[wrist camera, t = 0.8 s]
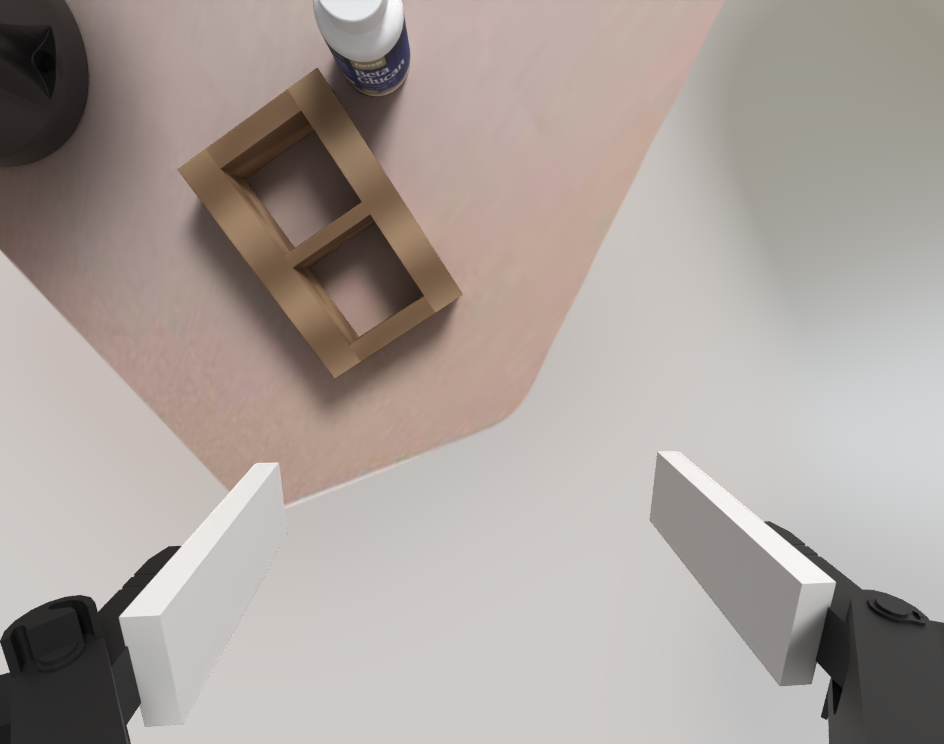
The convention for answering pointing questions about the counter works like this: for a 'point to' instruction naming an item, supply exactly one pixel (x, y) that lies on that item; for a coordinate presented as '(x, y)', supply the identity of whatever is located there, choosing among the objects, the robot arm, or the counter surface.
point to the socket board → (286, 267)
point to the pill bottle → (366, 41)
